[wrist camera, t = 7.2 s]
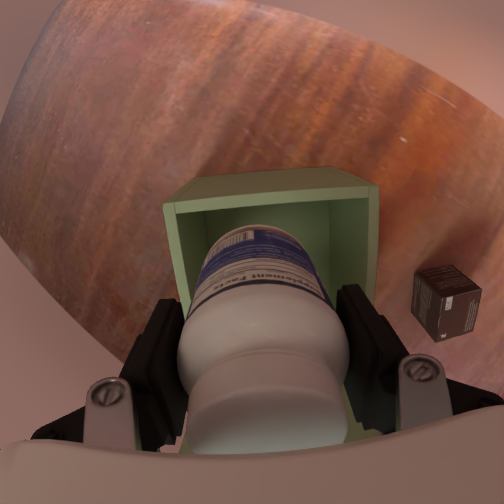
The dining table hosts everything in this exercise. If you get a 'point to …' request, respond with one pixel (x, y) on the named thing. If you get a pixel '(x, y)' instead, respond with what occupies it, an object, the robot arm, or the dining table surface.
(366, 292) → the chest
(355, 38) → the dining table surface
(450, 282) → the box
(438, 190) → the dining table surface
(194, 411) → the pill bottle
